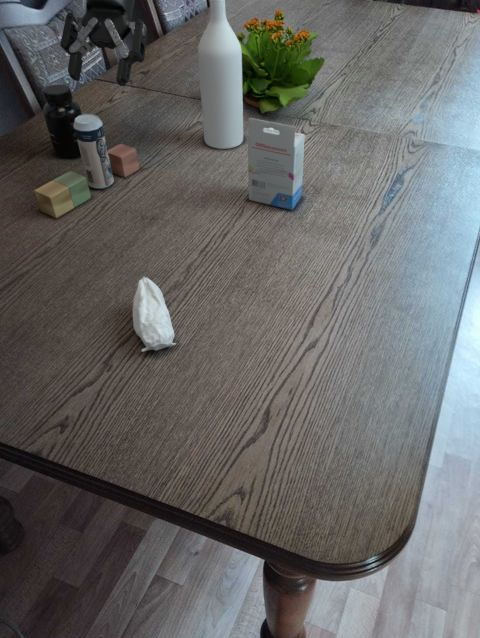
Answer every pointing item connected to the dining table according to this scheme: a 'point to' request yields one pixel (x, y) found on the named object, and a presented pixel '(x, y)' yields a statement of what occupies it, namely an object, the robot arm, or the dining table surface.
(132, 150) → the block row
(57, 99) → the supplement bottle
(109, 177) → the white cylindrical canister
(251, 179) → the ink box
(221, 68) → the bottle
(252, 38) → the potted flower
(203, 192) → the dining table surface
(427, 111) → the dining table surface
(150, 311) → the white crumpled pouch
